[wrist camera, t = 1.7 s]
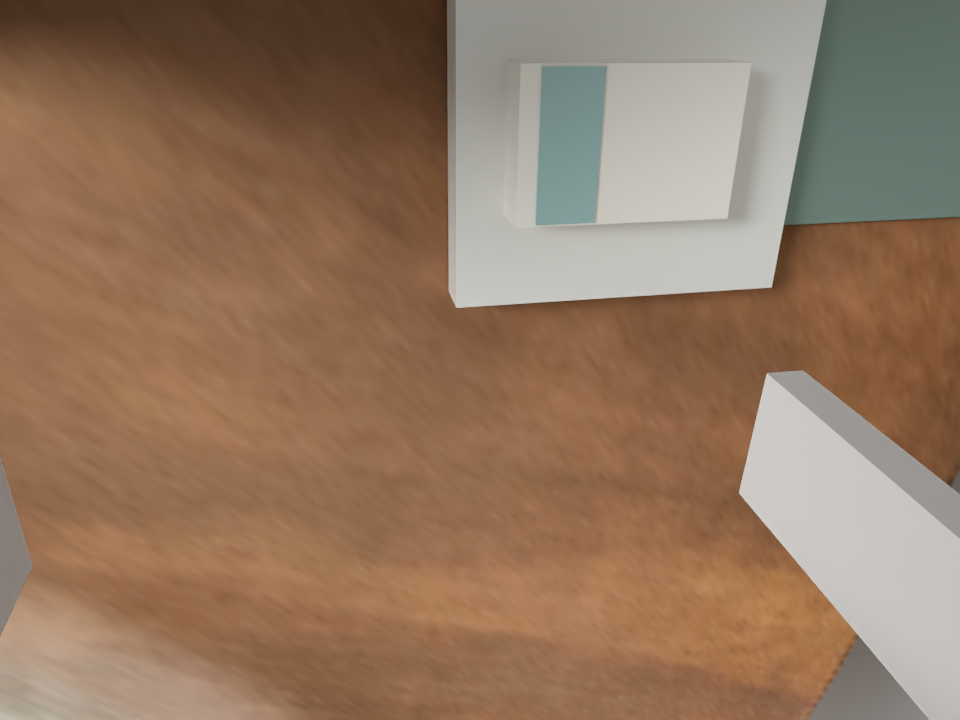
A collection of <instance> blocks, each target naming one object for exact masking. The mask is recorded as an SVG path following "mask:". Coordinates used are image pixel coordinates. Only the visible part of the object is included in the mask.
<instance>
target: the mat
mask: <svg viewBox="0 0 960 720" xmlns="http://www.w3.org/2000/svg"><path fill="white" fill-rule="evenodd" d="M943 217H960V0H827V1H826V7H825V12H824V17H823V22H822V28H821V33H820V38H819V43H818V48H817V54H816V59H815V64H814V69H813V75H812V80H811V85H810V90H809V95H808V101H807V106H806V111H805V116H804V122H803V127H802V132H801V137H800V142H799V148H798V153H797V158H796V163H795V169H794V174H793V179H792V184H791V189H790V195H789V200H788V205H787V210H786V216H785V221H784V225H796V224H817V223H838V222H859V221H880V220H901V219H922V218H943Z"/></svg>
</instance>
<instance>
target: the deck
mask: <svg viewBox="0 0 960 720" xmlns="http://www.w3.org/2000/svg"><path fill="white" fill-rule="evenodd" d="M826 1H827V0H447V106H448V260H449V293H450V296H451V298H452V300H453V302H454V304H455V306H456V308H461V307H477V306H492V305H508V304H524V303H539V302H555V301H570V300H586V299H601V298H617V297H632V296H648V295H663V294H679V293H695V292H710V291H726V290H741V289H757V288H772V284H773V278H774V273H775V268H776V263H777V257H778V252H779V247H780V242H781V236H782V231H783V226H784V221H785V216H786V210H787V205H788V200H789V195H790V189H791V184H792V179H793V174H794V169H795V163H796V158H797V153H798V148H799V142H800V137H801V132H802V127H803V122H804V116H805V111H806V106H807V101H808V95H809V90H810V85H811V80H812V75H813V69H814V64H815V59H816V54H817V48H818V43H819V38H820V33H821V28H822V22H823V17H824V12H825V7H826ZM508 59H732V60H738V61H745V62H751V63H752V65H751V71H750V77H749V84H748V90H747V96H746V103H745V109H744V115H743V122H742V128H741V135H740V141H739V147H738V154H737V160H736V166H735V173H734V179H733V185H732V192H731V198H730V204H729V211H728V217H727V219H706V220H684V221H662V222H640V223H618V224H596V225H574V226H552V227H529V228H515V227H514V226H513V225H512V224H511V223H510V221H509V220H508V219H507V218H506V217H505V216H504V184H505V146H506V107H507V69H508Z"/></svg>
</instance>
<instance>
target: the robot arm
mask: <svg viewBox="0 0 960 720" xmlns="http://www.w3.org/2000/svg"><path fill="white" fill-rule="evenodd" d="M739 494H740V495H741V496H742V497H743V499H744V500H745V501H746V502H747V503H748V504H749V506H750V507H751V508H752V509H753V510H754V512H755V513H756V514H757V515H758V516H759V518H760V519H761V520H762V521H763V522H764V524H765V525H766V526H767V527H768V528H769V529H770V531H771V532H772V533H773V534H774V535H775V537H776V538H777V539H778V540H779V541H780V543H781V544H782V545H783V546H784V547H785V549H786V550H787V551H788V552H789V553H790V554H791V556H792V557H793V558H794V559H795V560H796V562H797V563H798V564H799V565H800V566H801V568H802V569H803V570H804V571H805V572H806V574H807V575H808V576H809V577H810V578H811V579H812V581H813V582H814V583H815V584H816V585H817V587H818V588H819V589H820V590H821V591H822V593H823V594H824V595H825V596H826V597H827V599H828V600H829V601H830V602H831V603H832V604H833V606H834V607H835V608H836V609H837V610H838V612H839V613H840V614H841V615H842V616H843V618H844V619H845V620H846V621H847V622H848V624H849V625H850V626H851V627H852V628H853V629H854V631H855V632H856V633H857V634H858V635H859V637H860V638H861V639H862V640H863V641H864V643H865V644H866V645H867V646H868V647H869V648H870V650H871V651H872V652H873V653H874V654H875V656H876V657H877V658H878V659H879V660H880V662H881V663H882V664H883V665H884V666H885V668H886V669H887V670H888V671H889V672H890V673H891V675H892V676H893V677H894V678H895V679H896V681H897V682H898V683H899V684H900V685H901V686H902V688H903V689H904V690H905V691H906V692H907V694H908V695H909V696H910V697H911V699H912V700H913V701H914V702H915V703H916V704H917V706H919V708H920V709H921V710H922V711H923V713H924V714H925V715H926V716H927V718H928V719H929V720H960V494H959V493H957V492H956V491H955V490H954V489H952V488H951V487H950V486H949V485H947V484H946V483H945V482H944V481H942V480H941V479H940V478H939V477H937V476H936V475H935V474H933V473H932V472H931V471H930V470H928V469H927V468H926V467H925V466H923V465H922V464H921V463H920V462H918V461H917V460H916V459H915V458H913V457H912V456H911V455H909V454H908V453H907V452H906V451H904V450H903V449H902V448H901V447H899V446H898V445H897V444H896V443H894V442H893V441H892V440H890V439H889V438H888V437H887V436H885V435H884V434H883V433H882V432H880V431H879V430H878V429H877V428H875V427H874V426H873V425H872V424H870V423H869V422H868V421H866V420H865V419H864V418H863V417H861V416H860V415H859V414H858V413H856V412H855V411H854V410H853V409H851V408H850V407H849V406H848V405H846V404H845V403H844V402H842V401H841V400H840V399H839V398H837V397H836V396H835V395H834V394H832V393H831V392H830V391H829V390H827V389H826V388H825V387H824V386H822V385H821V384H820V383H818V382H817V381H816V380H815V379H813V378H812V377H811V376H810V375H808V374H807V373H806V372H805V371H790V372H776V373H767V375H766V379H765V383H764V388H763V392H762V396H761V400H760V405H759V409H758V413H757V418H756V422H755V426H754V430H753V435H752V439H751V443H750V448H749V452H748V456H747V461H746V465H745V469H744V473H743V478H742V482H741V486H740V491H739ZM31 568H32V562H31V559H30V555H29V552H28V549H27V545H26V542H25V539H24V535H23V532H22V528H21V525H20V522H19V518H18V515H17V511H16V508H15V505H14V501H13V498H12V495H11V491H10V488H9V484H8V481H7V478H6V474H5V471H4V468H3V464H2V461H1V457H0V636H1V634H2V631H3V629H4V627H5V625H6V623H7V621H8V618H9V616H10V614H11V612H12V610H13V607H14V605H15V603H16V601H17V599H18V597H19V594H20V592H21V590H22V588H23V586H24V584H25V581H26V579H27V577H28V575H29V573H30V570H31Z"/></svg>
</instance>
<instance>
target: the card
mask: <svg viewBox="0 0 960 720" xmlns="http://www.w3.org/2000/svg"><path fill="white" fill-rule="evenodd" d="M751 65H752V63H751V62H745V61H738V60H732V59H508V69H507V107H506V146H505V184H504V216H505V217H506V218H507V219H508V220H509V221H510V223H511V224H512V225H513V226H514V227H515V228H529V227H552V226H574V225H596V224H618V223H640V222H662V221H684V220H706V219H727V217H728V211H729V204H730V198H731V192H732V185H733V179H734V173H735V166H736V160H737V154H738V147H739V141H740V135H741V128H742V122H743V115H744V109H745V103H746V96H747V90H748V84H749V77H750V71H751Z"/></svg>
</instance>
